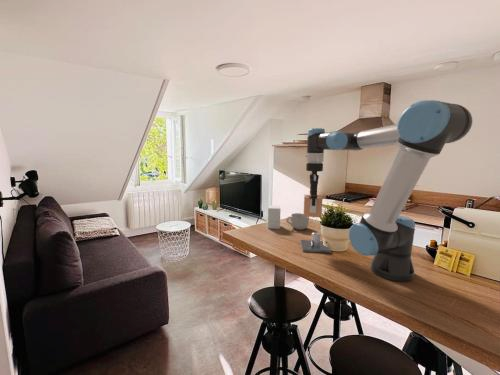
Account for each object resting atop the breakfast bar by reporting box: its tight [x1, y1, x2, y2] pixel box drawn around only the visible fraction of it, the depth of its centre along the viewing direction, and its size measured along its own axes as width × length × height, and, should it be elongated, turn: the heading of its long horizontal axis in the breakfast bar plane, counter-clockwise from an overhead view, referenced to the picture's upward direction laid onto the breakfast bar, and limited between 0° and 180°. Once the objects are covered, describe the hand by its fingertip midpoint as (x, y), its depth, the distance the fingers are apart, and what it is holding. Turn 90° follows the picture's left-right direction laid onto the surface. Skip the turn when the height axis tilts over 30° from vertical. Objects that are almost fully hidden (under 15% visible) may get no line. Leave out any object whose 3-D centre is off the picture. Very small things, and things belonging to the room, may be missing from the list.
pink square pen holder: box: [303, 194, 323, 218], centre depth 122 cm, size 8×8×9 cm
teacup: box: [285, 212, 310, 231], centre depth 154 cm, size 14×11×8 cm
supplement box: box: [267, 205, 281, 230], centre depth 155 cm, size 7×7×13 cm
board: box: [300, 231, 332, 254], centre depth 125 cm, size 12×13×7 cm
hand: (312, 210), depth 122 cm, fingers closed on pink square pen holder, 8 cm apart
